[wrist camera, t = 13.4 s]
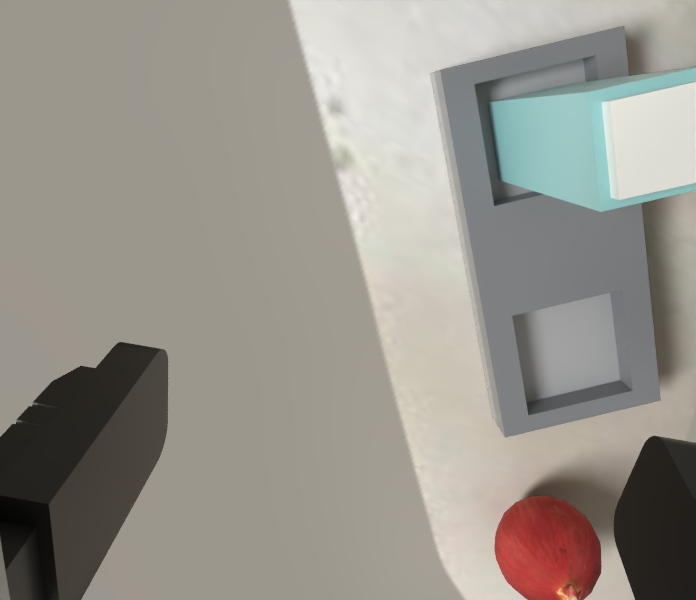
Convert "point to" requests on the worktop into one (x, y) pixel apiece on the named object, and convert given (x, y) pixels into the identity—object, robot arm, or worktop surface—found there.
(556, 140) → the plug
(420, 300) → the worktop surface
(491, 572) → the worktop surface
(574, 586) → the onion
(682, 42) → the worktop surface
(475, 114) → the panel
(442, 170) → the worktop surface
